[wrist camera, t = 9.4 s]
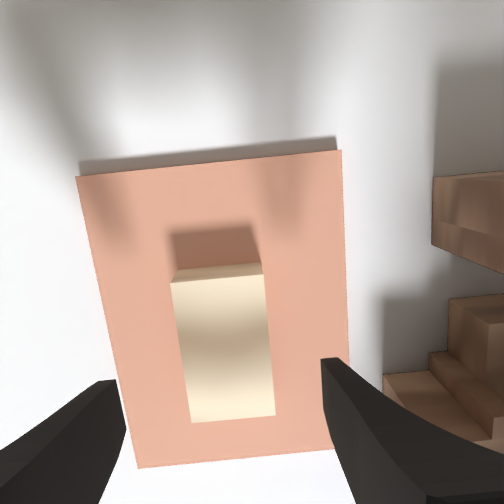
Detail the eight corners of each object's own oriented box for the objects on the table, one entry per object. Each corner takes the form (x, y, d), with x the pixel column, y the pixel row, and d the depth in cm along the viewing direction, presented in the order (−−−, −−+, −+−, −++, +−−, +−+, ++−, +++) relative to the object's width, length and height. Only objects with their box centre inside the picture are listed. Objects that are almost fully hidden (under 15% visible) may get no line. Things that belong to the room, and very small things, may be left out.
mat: (348, 438, 20) (351, 447, 19) (140, 459, 20) (137, 468, 19) (337, 150, 16) (341, 149, 16) (81, 176, 16) (75, 176, 16)
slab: (272, 389, 18) (275, 415, 16) (197, 396, 18) (191, 423, 16) (261, 261, 17) (263, 274, 15) (178, 269, 17) (169, 283, 15)
